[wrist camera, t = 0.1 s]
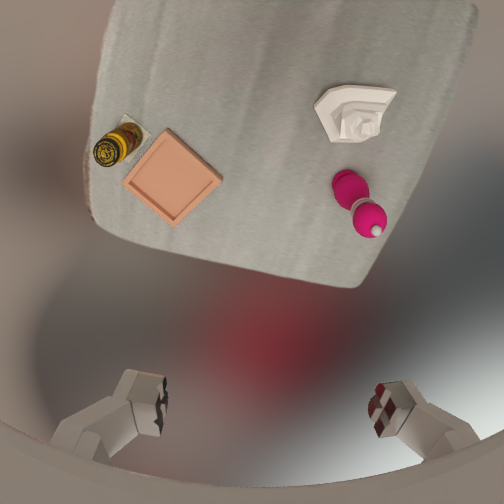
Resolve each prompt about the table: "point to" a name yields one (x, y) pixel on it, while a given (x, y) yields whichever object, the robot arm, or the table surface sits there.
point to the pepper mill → (359, 204)
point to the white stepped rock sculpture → (353, 111)
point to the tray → (171, 178)
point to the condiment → (120, 143)
